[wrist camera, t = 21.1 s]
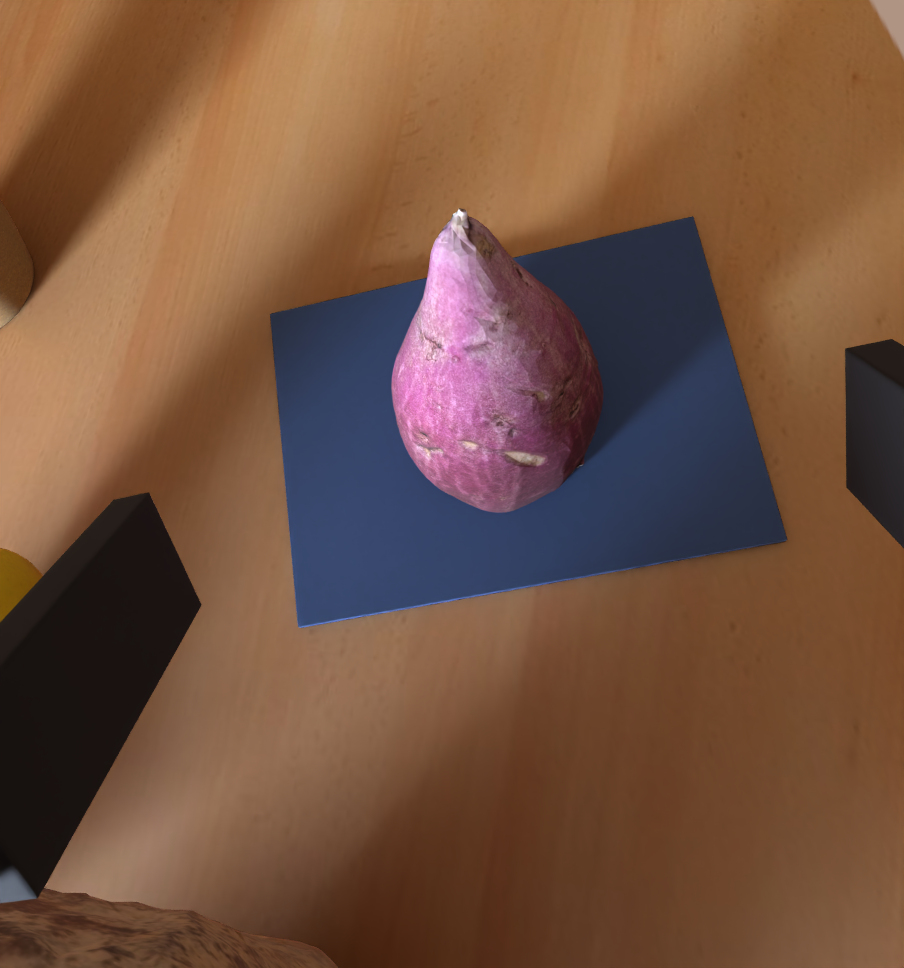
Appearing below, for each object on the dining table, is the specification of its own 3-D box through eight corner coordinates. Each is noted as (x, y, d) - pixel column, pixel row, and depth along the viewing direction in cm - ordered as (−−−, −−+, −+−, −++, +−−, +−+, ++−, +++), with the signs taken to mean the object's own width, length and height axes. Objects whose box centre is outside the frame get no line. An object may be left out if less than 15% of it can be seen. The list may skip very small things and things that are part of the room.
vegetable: (433, 361, 44) (332, 134, 32) (613, 352, 41) (578, 96, 29) (398, 520, 39) (263, 322, 27) (600, 524, 36) (550, 302, 24)
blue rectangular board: (692, 220, 41) (693, 215, 41) (785, 541, 36) (787, 539, 35) (272, 316, 44) (269, 313, 44) (300, 627, 39) (297, 627, 38)
